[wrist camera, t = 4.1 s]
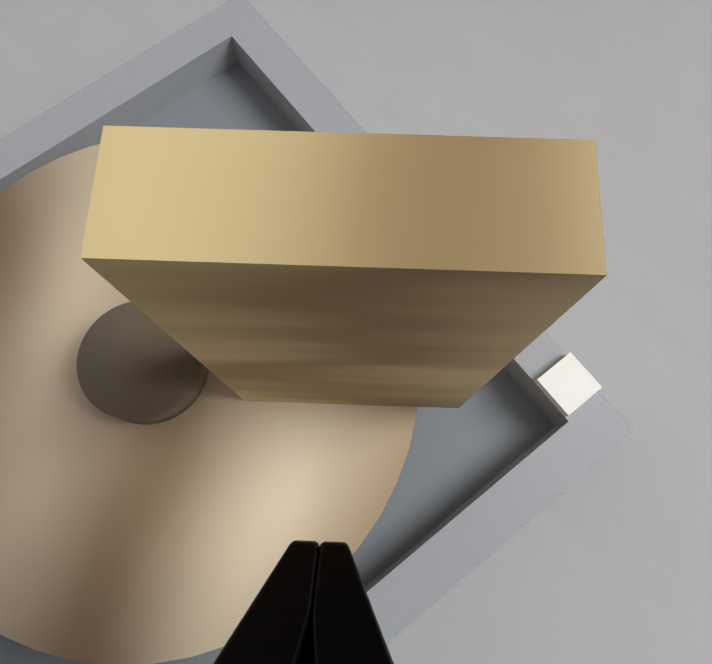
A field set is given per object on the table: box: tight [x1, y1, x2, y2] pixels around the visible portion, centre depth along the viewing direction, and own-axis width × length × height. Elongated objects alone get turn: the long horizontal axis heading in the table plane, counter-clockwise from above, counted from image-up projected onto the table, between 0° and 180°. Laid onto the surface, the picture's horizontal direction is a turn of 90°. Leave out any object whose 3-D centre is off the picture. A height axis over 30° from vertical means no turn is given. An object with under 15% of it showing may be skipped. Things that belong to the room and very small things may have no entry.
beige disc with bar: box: [0, 126, 607, 664], centre depth 12 cm, size 15×14×11 cm
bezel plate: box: [0, 0, 634, 664], centre depth 17 cm, size 18×18×2 cm
